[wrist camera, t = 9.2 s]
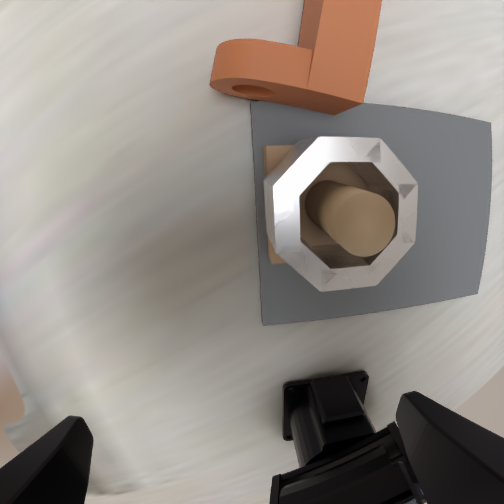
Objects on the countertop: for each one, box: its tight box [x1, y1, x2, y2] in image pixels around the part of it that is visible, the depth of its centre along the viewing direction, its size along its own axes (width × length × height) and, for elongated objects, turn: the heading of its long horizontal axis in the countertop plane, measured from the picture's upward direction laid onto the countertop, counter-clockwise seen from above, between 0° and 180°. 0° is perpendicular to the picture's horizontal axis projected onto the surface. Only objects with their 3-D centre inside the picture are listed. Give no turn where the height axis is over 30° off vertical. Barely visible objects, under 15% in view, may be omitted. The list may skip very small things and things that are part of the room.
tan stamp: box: [263, 145, 395, 264], centre depth 14 cm, size 6×6×6 cm
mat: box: [250, 101, 492, 326], centre depth 18 cm, size 13×17×1 cm
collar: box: [264, 137, 418, 292], centre depth 14 cm, size 6×6×4 cm
